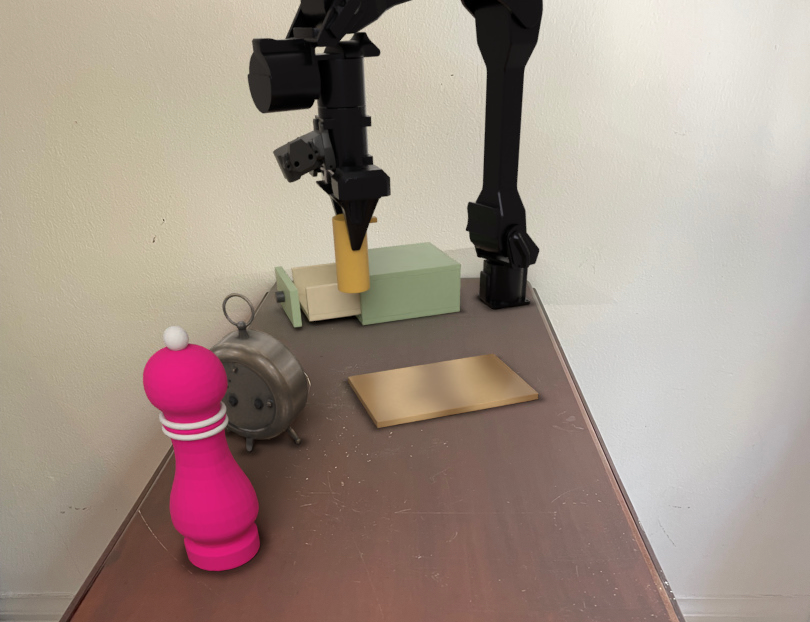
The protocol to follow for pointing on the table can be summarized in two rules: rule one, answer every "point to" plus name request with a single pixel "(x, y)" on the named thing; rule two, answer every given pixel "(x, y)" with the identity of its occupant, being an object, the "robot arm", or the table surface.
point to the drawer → (314, 294)
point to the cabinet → (410, 283)
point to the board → (439, 389)
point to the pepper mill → (202, 455)
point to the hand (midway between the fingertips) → (351, 245)
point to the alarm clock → (260, 382)
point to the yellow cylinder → (350, 259)
